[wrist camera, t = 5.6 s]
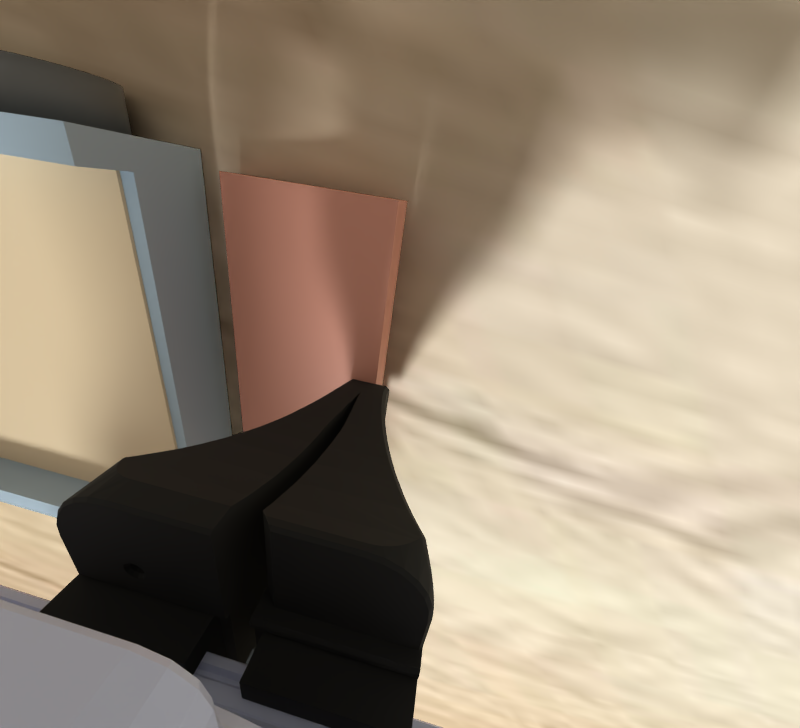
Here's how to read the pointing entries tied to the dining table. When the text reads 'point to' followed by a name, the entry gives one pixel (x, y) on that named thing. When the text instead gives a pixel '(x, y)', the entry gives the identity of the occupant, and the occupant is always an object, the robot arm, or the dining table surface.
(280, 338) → the tailgate
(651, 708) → the dining table surface
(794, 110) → the dining table surface
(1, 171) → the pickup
